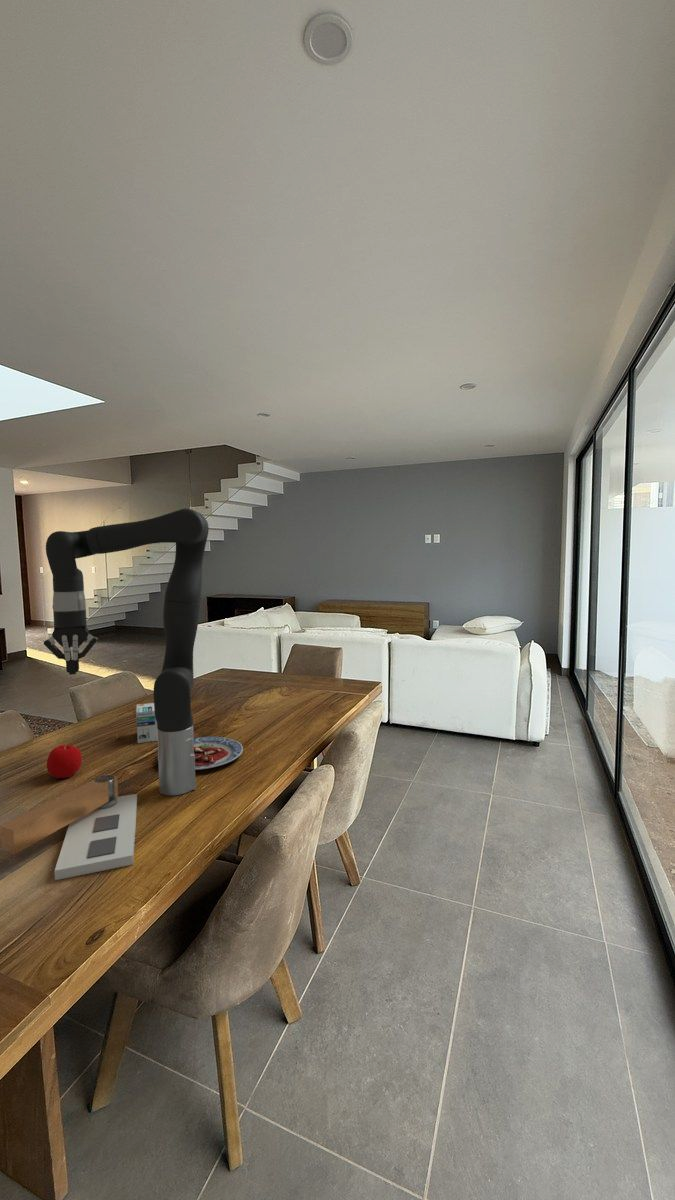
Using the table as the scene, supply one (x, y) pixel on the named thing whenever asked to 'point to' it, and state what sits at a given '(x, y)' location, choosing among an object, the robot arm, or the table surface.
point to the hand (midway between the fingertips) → (72, 673)
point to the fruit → (64, 761)
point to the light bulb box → (146, 723)
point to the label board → (99, 839)
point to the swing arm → (57, 813)
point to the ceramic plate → (215, 751)
